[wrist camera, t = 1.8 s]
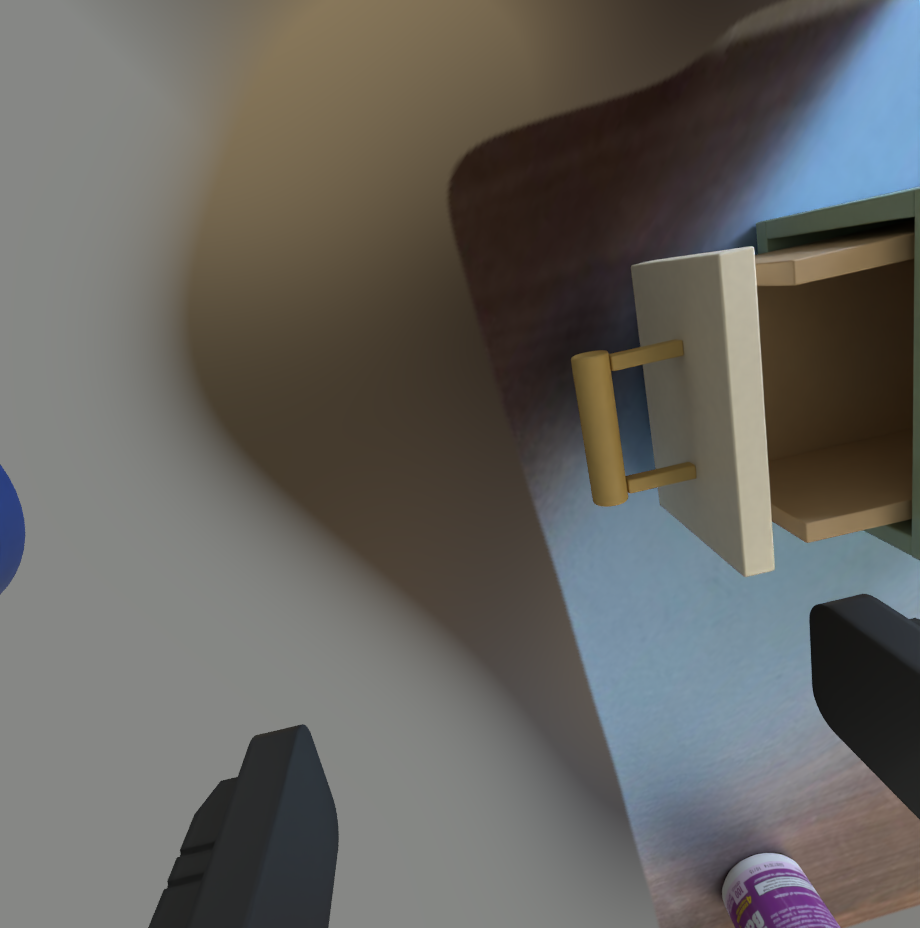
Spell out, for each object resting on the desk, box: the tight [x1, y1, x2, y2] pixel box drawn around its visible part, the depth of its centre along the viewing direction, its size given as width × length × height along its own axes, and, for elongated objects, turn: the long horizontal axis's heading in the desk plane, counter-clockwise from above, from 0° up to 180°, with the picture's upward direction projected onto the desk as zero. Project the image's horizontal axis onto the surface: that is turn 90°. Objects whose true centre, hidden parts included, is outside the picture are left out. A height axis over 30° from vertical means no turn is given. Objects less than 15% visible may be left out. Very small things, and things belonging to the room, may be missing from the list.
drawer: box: [571, 220, 915, 577], centre depth 24 cm, size 18×11×8 cm, turn 102°
